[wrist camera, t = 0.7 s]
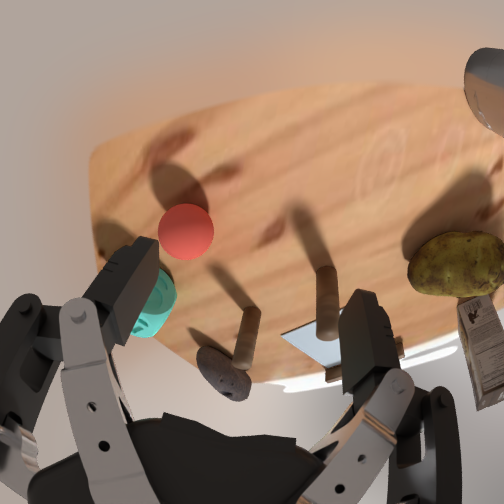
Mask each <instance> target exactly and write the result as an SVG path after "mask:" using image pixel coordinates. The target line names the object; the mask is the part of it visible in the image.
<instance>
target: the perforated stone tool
mask: <svg viewBox="0 0 504 504" xmlns="http://www.w3.org/2000/svg"><path fill="white" fill-rule="evenodd" d="M196 357H197V358H196V360H197V365H198V368H199V370H200V372H201V373H202V375H203V376H204V378H205V379H206V380H207V381H208V382H209V383H210V384H211V385H212V386H213V387H214V388H215V389H216V390H217V391H218V392H219V393H221V394H222V395H224V396H226V397H227V398H229V399H230V400H233V401H243V400H245V399H247V398H248V396H249V392H250V389H251V384H252V382H251V379H250V377H249V376H248V374H247V373H246V372H245V371H244V370H242V369H238V368H235V367H234V366H233V365H232V364H231V363H232V360H231V359H230V358H229V357H227V356H226V355H224V354H222V353H221V352H220V351H218V350H216V349H214V348H212V347H208V346H204V347H201V348H200V349H199V350H198V352H197V356H196Z"/></svg>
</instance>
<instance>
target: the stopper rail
mask: <svg viewBox="0 0 504 504" xmlns="http://www.w3.org/2000/svg"><path fill="white" fill-rule="evenodd" d="M396 348H397V353H398V357H399V359H402V358H404V357H405V355H404V349H403V345H402V344H401V343H398V344H396ZM338 380H342V369H341V365H340V366H337V367H334V368H331V369H328V370H326V373H325V382H327V383H331V382H335V381H338Z"/></svg>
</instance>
